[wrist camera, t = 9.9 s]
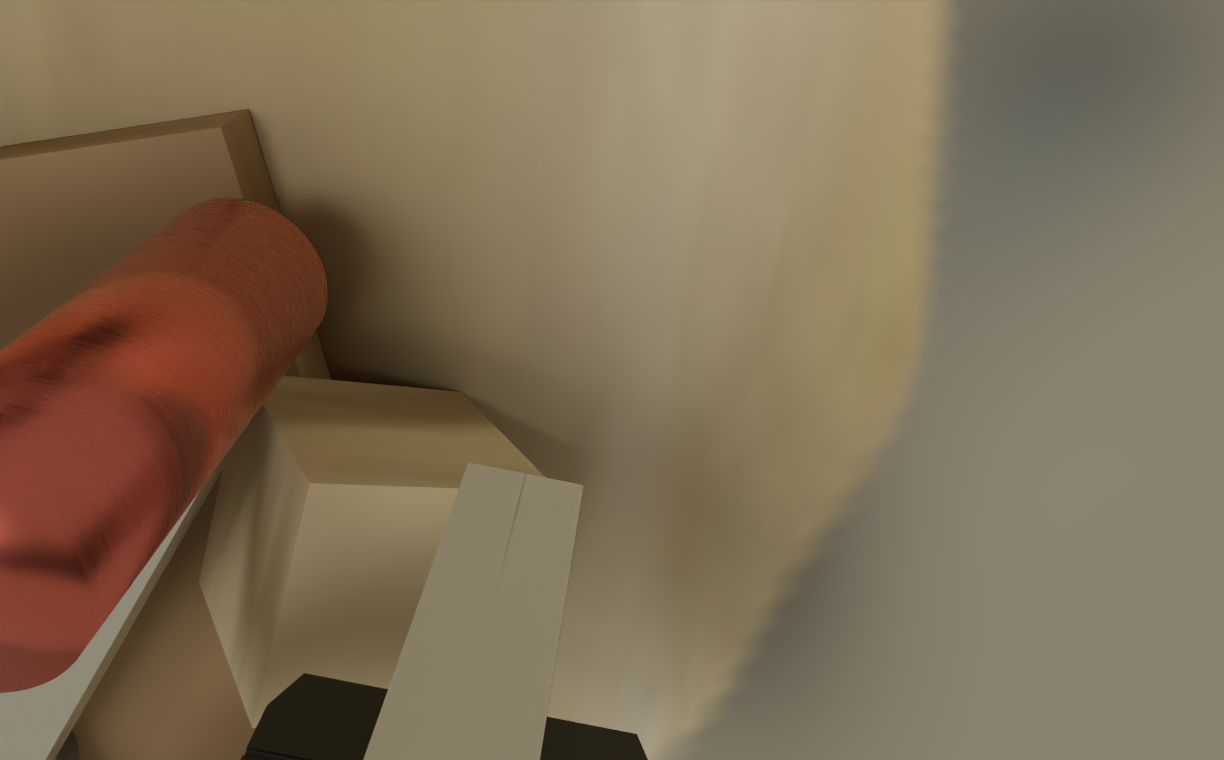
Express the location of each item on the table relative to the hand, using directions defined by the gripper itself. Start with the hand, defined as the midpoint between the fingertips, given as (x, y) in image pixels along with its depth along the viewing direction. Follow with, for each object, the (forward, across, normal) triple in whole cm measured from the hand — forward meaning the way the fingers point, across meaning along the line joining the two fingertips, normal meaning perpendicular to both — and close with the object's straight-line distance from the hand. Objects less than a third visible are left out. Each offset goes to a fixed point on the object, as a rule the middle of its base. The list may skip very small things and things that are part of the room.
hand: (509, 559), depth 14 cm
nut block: (+9, -4, -6) cm, 11 cm away
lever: (+7, -10, -8) cm, 14 cm away
